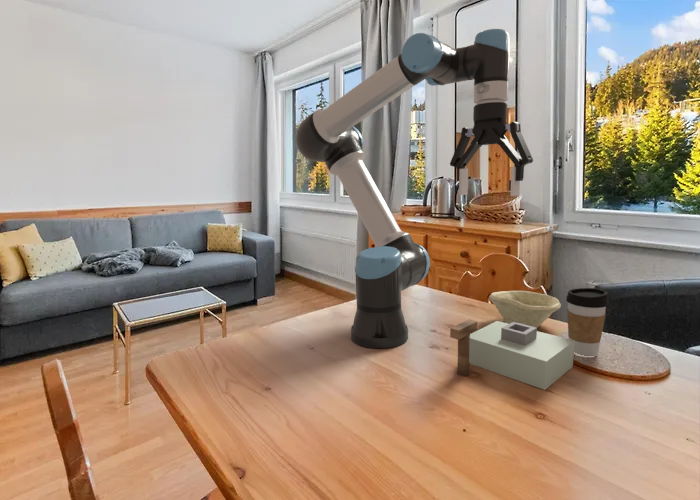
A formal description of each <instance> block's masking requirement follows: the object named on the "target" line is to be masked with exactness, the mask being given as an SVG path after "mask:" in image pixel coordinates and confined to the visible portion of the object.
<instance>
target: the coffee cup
mask: <svg viewBox="0 0 700 500" xmlns="http://www.w3.org/2000/svg"><path fill="white" fill-rule="evenodd" d="M565 299H566V302H567V303H568V304H567V306H568V307H567V310H566V311H567V313H566V314H567V329H568V330H567V333H568V335H567V336H568V339H570V340H574V352H575V353H577V354H580V355H584V356H596V355H597V354H598V355H599V351H600V349H599V348H600V345H601V340H602V336H603V335H602V334H603V329H604V325H605V320H606V315H607V314H606V308H607V307H608V306H609V303H610V301H609V294H608V291H607V290H604V289H601V288H597V287H596V288H595V287H581V288H580V287H579V288H571V289H569V290H568V291H567V296H566V298H565ZM598 355H597V356H598Z"/></svg>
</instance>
